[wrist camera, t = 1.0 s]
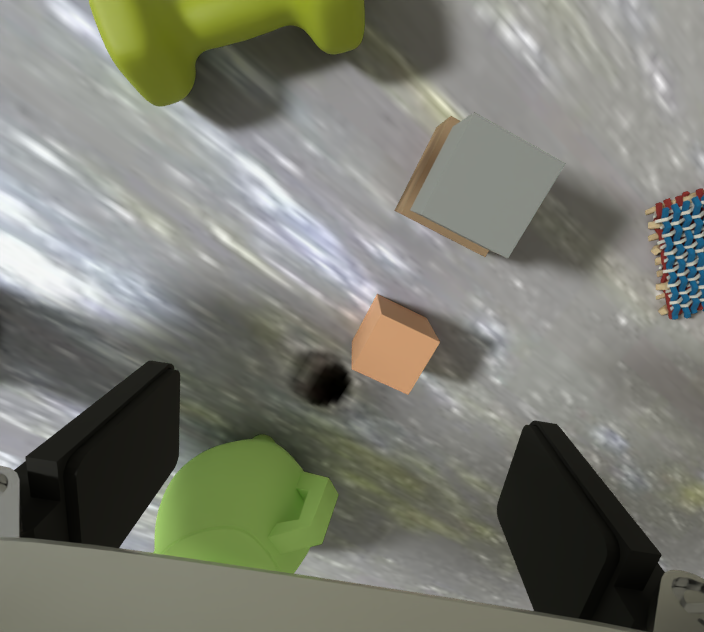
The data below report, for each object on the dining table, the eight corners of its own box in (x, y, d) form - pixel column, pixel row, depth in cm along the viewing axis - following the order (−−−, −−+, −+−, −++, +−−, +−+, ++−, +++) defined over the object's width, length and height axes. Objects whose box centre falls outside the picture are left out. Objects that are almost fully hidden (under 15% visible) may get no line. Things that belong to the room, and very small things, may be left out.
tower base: (466, 247, 34) (485, 257, 29) (394, 210, 33) (401, 213, 28) (512, 169, 32) (539, 165, 27) (436, 127, 31) (451, 116, 26)
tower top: (482, 247, 29) (507, 258, 24) (410, 210, 28) (421, 214, 23) (528, 168, 27) (565, 163, 22) (452, 126, 26) (474, 112, 22)
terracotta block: (399, 363, 37) (408, 394, 31) (352, 341, 36) (351, 369, 31) (426, 317, 36) (440, 342, 30) (377, 293, 35) (381, 314, 29)
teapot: (208, 556, 44) (153, 693, 32) (135, 468, 41) (43, 584, 29) (366, 490, 41) (371, 613, 29) (303, 388, 38) (279, 481, 26)
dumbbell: (345, -66, 27) (342, -153, 20) (371, 62, 30) (376, 24, 23) (125, 2, 29) (52, -58, 22) (166, 120, 31) (112, 100, 24)
